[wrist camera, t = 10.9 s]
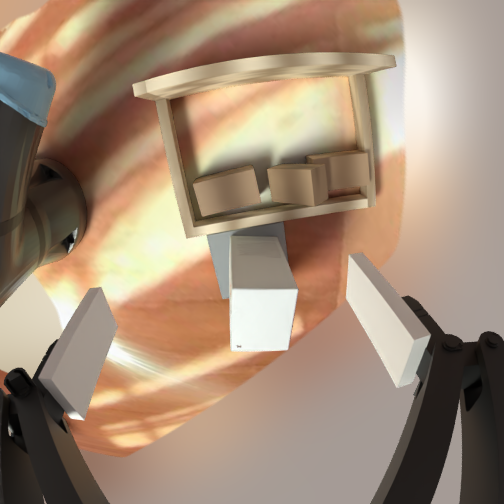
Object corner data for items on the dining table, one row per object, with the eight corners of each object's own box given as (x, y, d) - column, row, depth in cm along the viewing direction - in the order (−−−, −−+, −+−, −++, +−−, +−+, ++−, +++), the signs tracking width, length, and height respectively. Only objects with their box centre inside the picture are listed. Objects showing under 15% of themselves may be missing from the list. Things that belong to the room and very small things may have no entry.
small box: (273, 287, 42) (289, 352, 30) (228, 287, 41) (229, 353, 29) (278, 235, 38) (299, 288, 27) (229, 233, 38) (230, 288, 26)
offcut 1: (204, 207, 37) (202, 216, 34) (196, 178, 35) (192, 184, 32) (258, 194, 36) (261, 202, 33) (251, 164, 35) (253, 169, 32)
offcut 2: (287, 194, 36) (272, 201, 35) (282, 163, 35) (266, 168, 33) (328, 198, 32) (314, 206, 31) (325, 164, 31) (310, 169, 29)
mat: (222, 297, 42) (222, 299, 42) (206, 234, 38) (206, 235, 38) (290, 285, 42) (291, 287, 42) (282, 221, 38) (283, 222, 38)
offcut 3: (308, 185, 36) (316, 192, 33) (305, 155, 35) (312, 159, 31) (358, 179, 36) (369, 185, 33) (356, 149, 35) (367, 153, 31)
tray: (189, 231, 38) (176, 268, 29) (158, 93, 30) (132, 84, 21) (368, 201, 37) (405, 227, 28) (355, 68, 30) (394, 55, 21)
